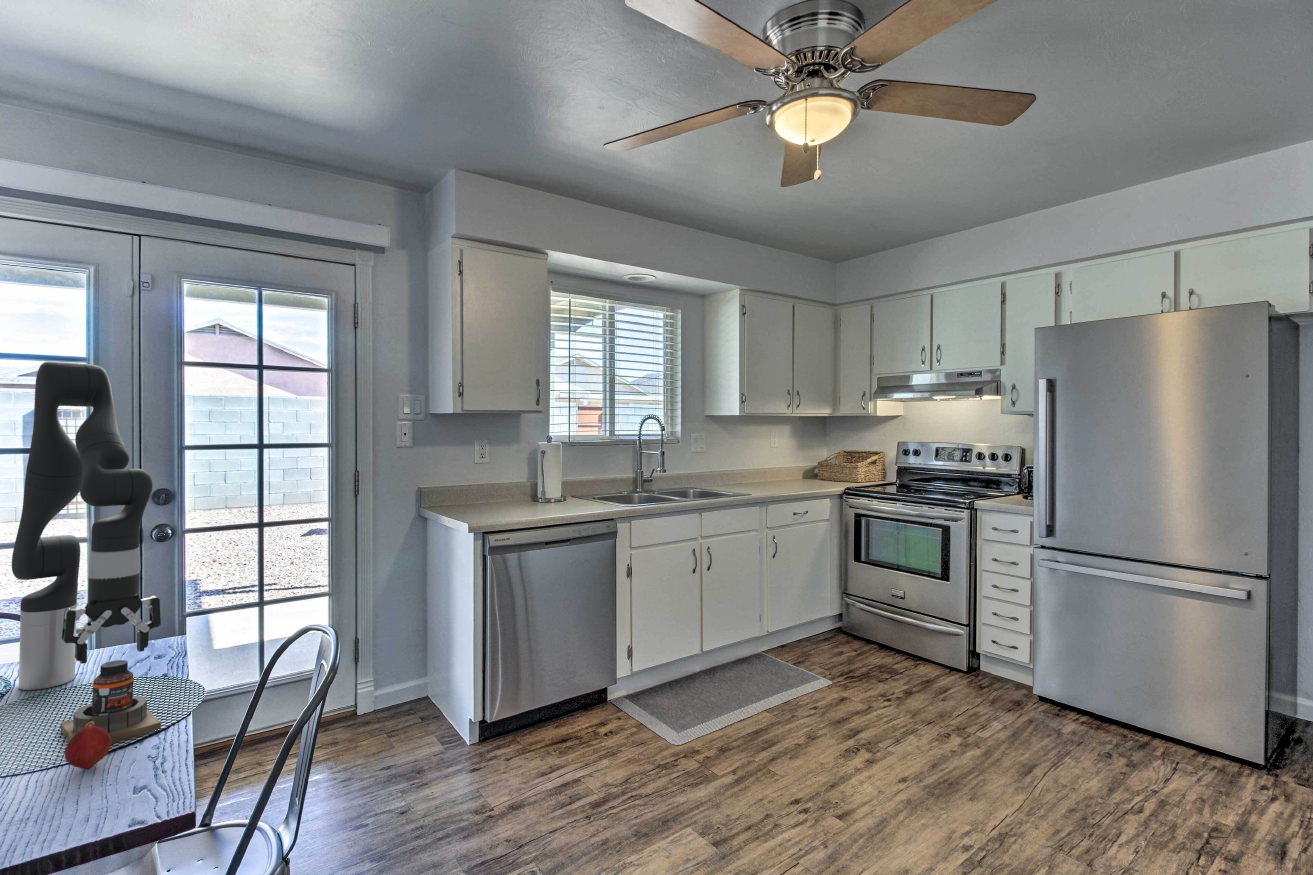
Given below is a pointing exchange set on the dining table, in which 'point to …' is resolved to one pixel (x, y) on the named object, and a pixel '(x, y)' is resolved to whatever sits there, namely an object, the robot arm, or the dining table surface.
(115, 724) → the ring holder
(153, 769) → the dining table surface
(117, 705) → the supplement bottle
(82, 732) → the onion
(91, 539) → the robot arm
